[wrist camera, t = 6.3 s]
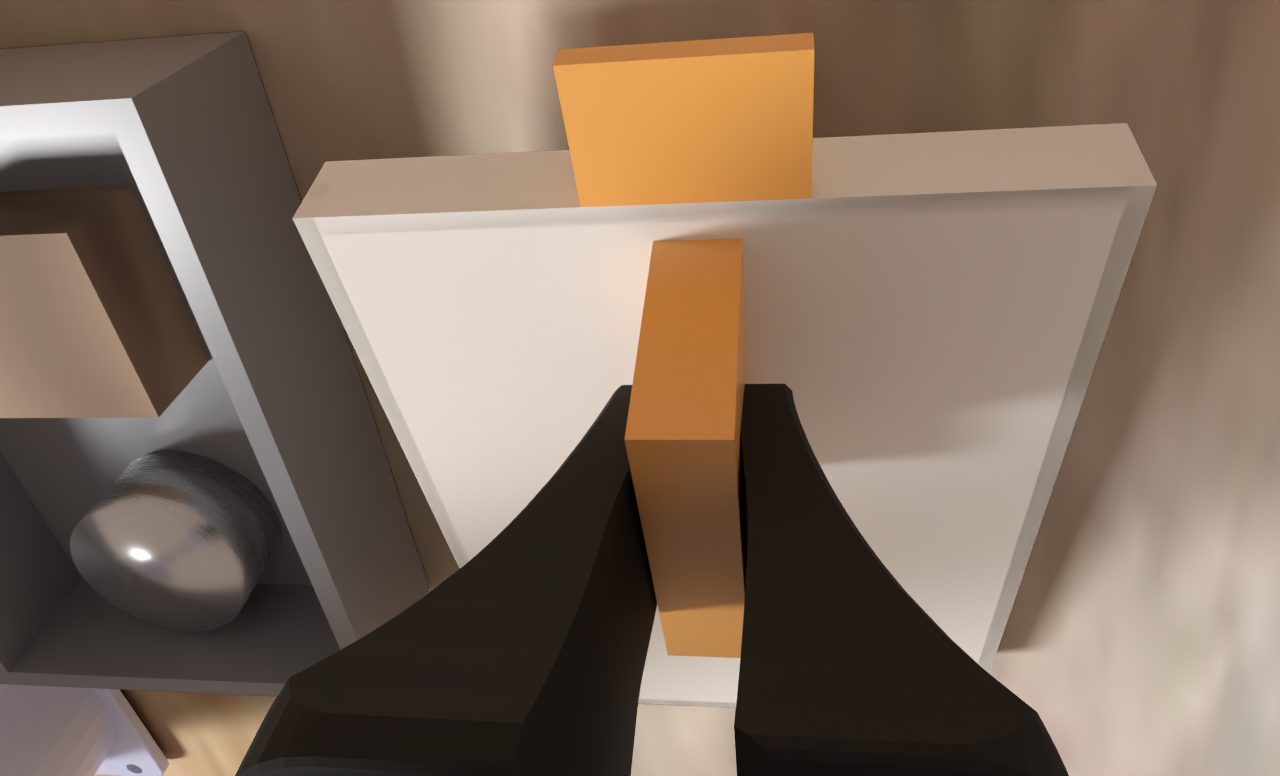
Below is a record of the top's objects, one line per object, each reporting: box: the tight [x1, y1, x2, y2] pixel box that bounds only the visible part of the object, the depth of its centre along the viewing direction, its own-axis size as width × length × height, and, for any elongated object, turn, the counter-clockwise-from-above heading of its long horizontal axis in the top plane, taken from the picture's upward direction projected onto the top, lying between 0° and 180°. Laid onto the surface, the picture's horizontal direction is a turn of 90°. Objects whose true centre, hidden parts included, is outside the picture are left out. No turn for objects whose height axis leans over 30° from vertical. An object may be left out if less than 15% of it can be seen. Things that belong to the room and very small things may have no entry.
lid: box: [292, 33, 1157, 708], centre depth 16 cm, size 11×17×5 cm, turn 6°
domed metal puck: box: [70, 451, 281, 631], centre depth 22 cm, size 4×4×2 cm
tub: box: [0, 31, 429, 697], centre depth 19 cm, size 10×14×4 cm
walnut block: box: [0, 186, 209, 418], centre depth 18 cm, size 4×4×2 cm
